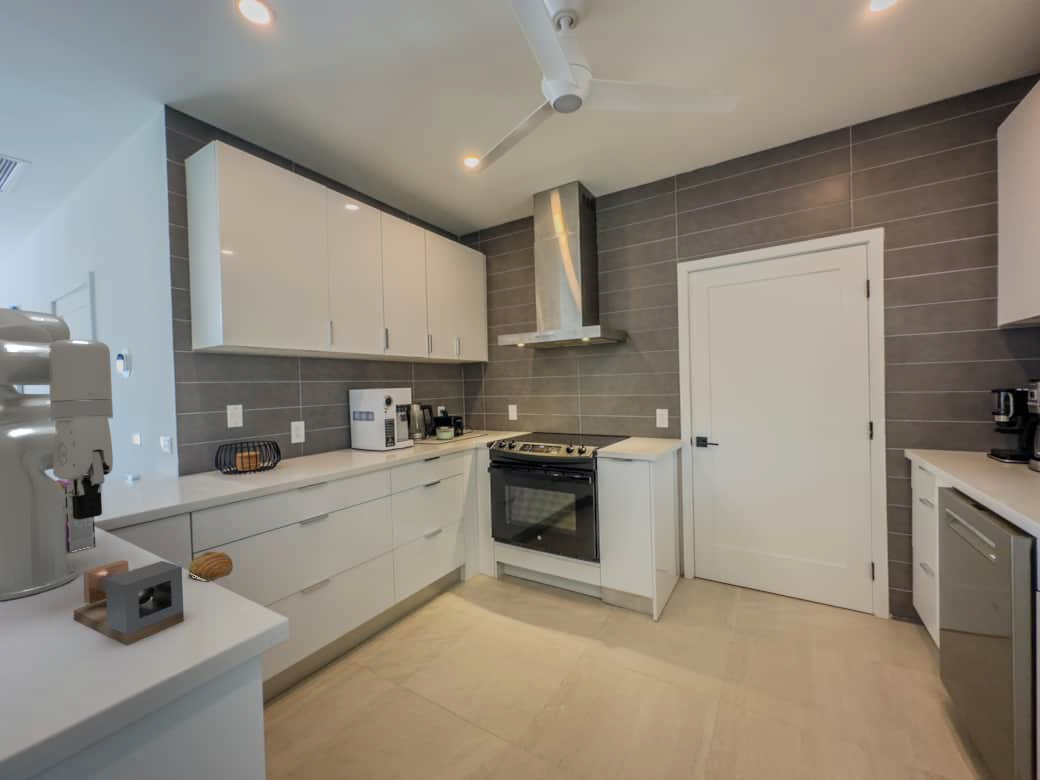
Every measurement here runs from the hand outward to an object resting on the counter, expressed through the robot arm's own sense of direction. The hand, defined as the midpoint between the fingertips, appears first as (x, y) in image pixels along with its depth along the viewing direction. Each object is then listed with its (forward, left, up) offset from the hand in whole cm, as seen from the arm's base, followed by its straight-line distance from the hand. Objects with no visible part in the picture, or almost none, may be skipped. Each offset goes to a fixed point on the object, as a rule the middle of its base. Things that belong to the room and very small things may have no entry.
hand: (87, 516), depth 74 cm
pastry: (+6, +16, -16) cm, 23 cm away
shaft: (+12, 0, -13) cm, 17 cm away
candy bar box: (-45, +12, -15) cm, 49 cm away
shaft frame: (+14, 0, -15) cm, 21 cm away
